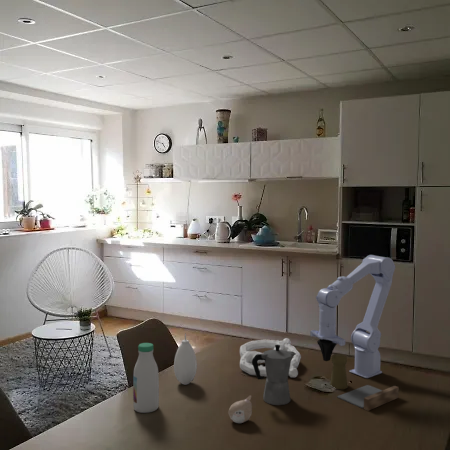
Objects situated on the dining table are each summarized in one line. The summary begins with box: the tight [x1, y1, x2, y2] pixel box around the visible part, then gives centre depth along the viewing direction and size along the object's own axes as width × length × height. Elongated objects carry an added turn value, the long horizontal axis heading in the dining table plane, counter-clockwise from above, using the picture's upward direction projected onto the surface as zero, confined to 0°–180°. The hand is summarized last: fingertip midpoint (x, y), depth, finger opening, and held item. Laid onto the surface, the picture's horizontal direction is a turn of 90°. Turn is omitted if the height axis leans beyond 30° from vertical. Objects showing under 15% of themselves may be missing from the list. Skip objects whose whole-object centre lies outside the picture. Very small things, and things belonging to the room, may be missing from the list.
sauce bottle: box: [173, 333, 198, 386], centre depth 167 cm, size 8×8×18 cm
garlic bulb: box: [227, 394, 253, 424], centre depth 139 cm, size 7×6×8 cm
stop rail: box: [363, 385, 400, 412], centre depth 152 cm, size 16×2×4 cm, turn 127°
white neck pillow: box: [239, 337, 302, 379], centre depth 186 cm, size 28×24×6 cm
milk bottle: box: [132, 342, 160, 414], centre depth 147 cm, size 8×8×20 cm
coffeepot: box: [251, 345, 296, 406], centre depth 154 cm, size 15×9×18 cm, turn 110°
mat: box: [337, 384, 382, 409], centre depth 157 cm, size 16×10×1 cm, turn 127°
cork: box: [329, 353, 348, 390], centre depth 166 cm, size 6×6×11 cm
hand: (326, 360), depth 170 cm, fingers closed
